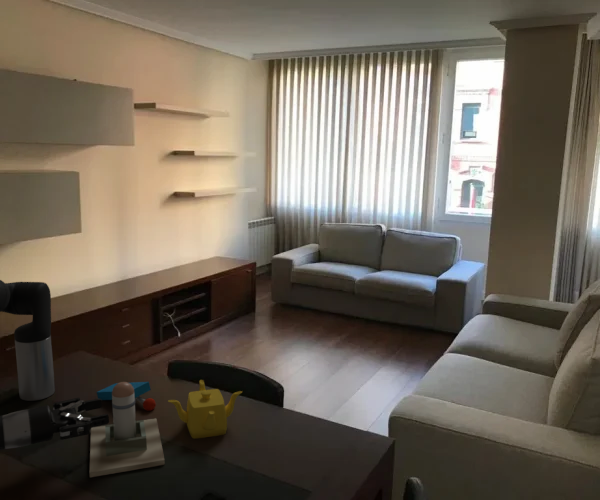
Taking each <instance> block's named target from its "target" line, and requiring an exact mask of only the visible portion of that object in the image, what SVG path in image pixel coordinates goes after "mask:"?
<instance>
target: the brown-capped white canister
mask: <svg viewBox="0 0 600 500" xmlns="http://www.w3.org/2000/svg"><path fill="white" fill-rule="evenodd" d="M117 383H118V384H117V385H115V387H114V388H113V390H112V400H111V407H112V422H113V424H114V441H116V440H123V439H129V438H136V421H137V420H136V400H135V397H134V388H133V386H132V385H131V384H130V383H131V382H127V381H120V382H117Z"/></svg>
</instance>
